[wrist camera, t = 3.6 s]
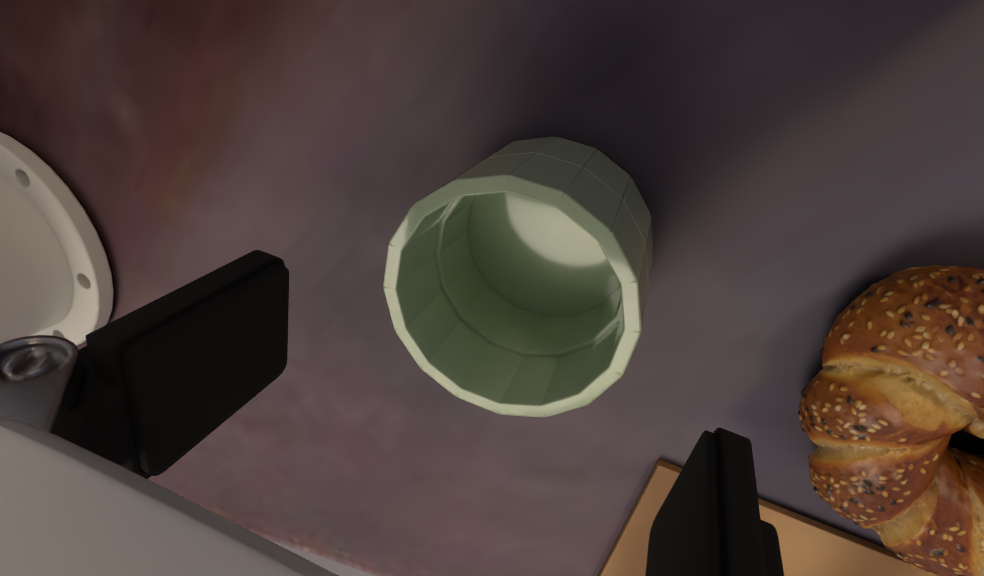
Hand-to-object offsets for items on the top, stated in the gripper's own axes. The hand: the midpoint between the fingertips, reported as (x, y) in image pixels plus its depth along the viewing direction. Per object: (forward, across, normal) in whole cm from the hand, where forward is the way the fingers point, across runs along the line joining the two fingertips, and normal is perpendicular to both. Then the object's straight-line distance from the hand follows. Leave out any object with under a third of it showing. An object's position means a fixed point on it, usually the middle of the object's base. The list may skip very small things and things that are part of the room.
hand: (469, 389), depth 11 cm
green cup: (+10, +1, 0) cm, 10 cm away
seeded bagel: (+10, -14, +1) cm, 18 cm away
